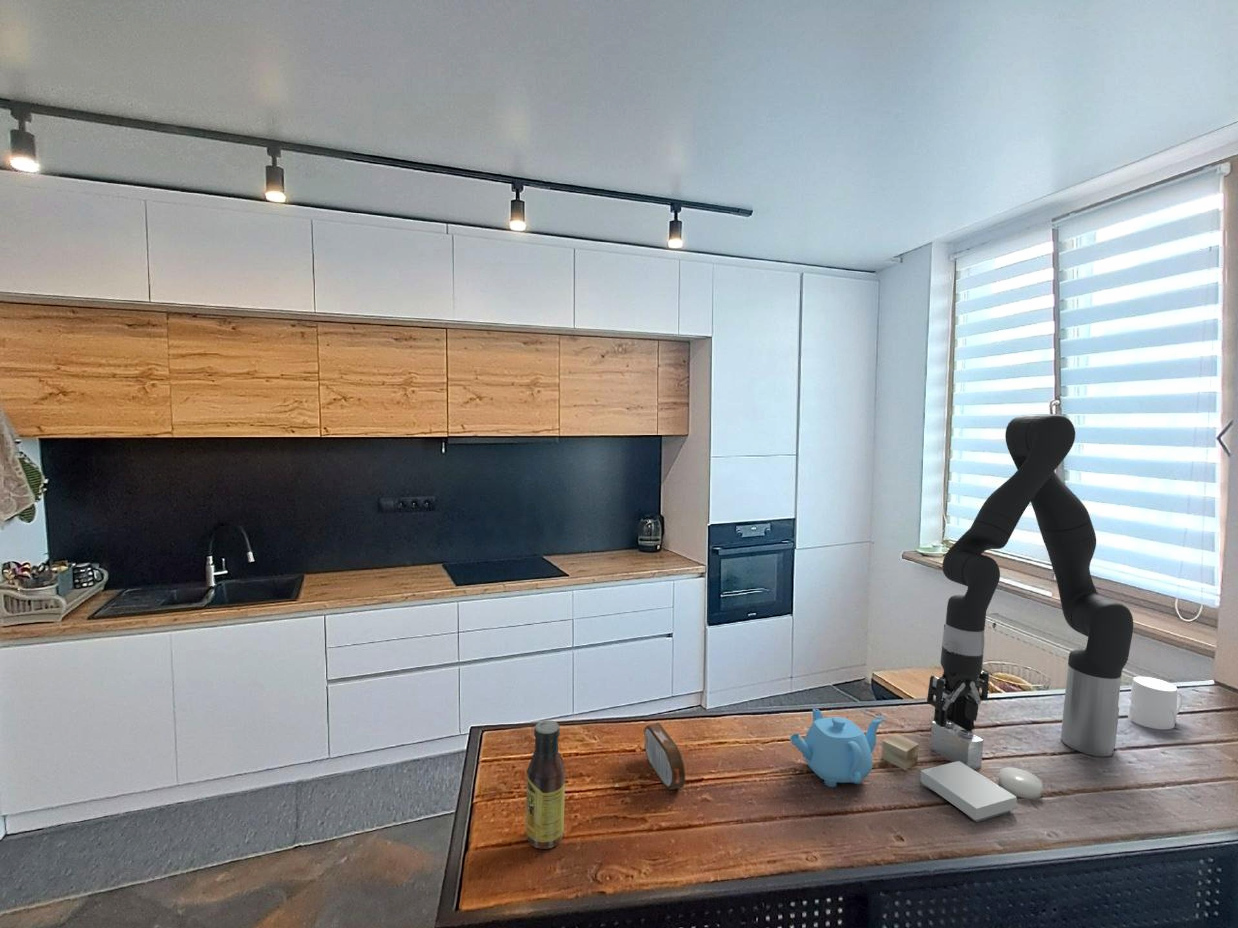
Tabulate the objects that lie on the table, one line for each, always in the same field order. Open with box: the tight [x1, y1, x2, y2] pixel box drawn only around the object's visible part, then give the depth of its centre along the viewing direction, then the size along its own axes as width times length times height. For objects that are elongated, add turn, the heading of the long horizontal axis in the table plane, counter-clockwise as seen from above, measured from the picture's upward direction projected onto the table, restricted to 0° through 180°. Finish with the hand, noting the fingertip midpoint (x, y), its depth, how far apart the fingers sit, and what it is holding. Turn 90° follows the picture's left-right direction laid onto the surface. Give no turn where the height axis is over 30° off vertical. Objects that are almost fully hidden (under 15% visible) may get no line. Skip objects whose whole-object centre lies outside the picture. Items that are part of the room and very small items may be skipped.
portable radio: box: [942, 624, 975, 732], centre depth 142 cm, size 8×6×25 cm
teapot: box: [789, 708, 885, 788], centre depth 122 cm, size 15×14×11 cm
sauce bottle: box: [525, 719, 566, 850], centre depth 101 cm, size 6×6×20 cm
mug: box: [1127, 676, 1184, 730], centre depth 147 cm, size 12×9×8 cm
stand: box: [919, 761, 1018, 823], centre depth 116 cm, size 10×12×3 cm
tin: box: [643, 722, 686, 791], centre depth 120 cm, size 15×3×8 cm, turn 19°
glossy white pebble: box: [998, 766, 1043, 800], centre depth 120 cm, size 7×7×2 cm
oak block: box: [881, 733, 920, 771], centre depth 128 cm, size 5×5×4 cm
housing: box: [929, 720, 984, 770], centre depth 129 cm, size 4×9×7 cm, turn 21°
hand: (955, 722), depth 129 cm, fingers open, 8 cm apart
